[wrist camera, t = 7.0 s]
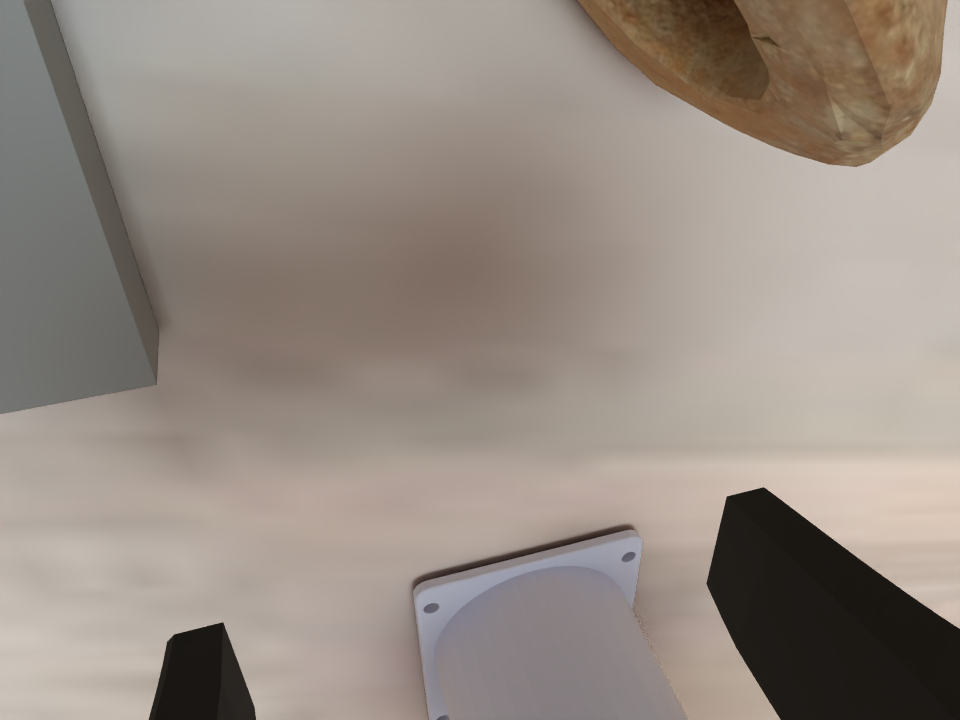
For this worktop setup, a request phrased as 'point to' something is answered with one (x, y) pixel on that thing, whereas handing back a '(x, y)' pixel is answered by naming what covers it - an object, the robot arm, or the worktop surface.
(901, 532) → the worktop surface
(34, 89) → the slate base
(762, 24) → the pipe
